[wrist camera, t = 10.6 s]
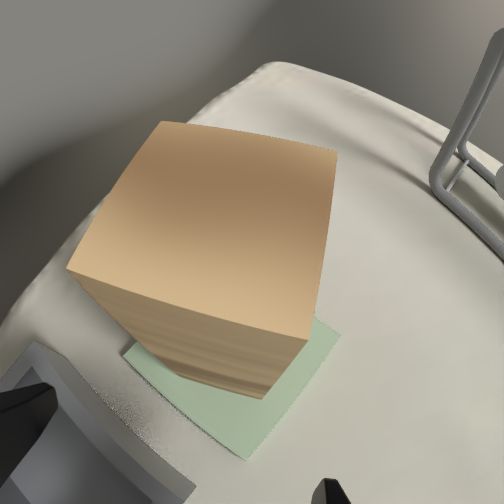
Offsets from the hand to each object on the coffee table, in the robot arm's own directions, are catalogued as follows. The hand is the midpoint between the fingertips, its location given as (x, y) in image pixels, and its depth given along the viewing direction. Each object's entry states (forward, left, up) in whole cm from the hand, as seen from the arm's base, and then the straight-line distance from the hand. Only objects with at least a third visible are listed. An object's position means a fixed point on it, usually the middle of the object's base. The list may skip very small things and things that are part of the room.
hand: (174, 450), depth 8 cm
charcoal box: (-8, +4, -8) cm, 12 cm away
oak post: (+5, +2, -8) cm, 9 cm away
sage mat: (+5, +2, -8) cm, 10 cm away
